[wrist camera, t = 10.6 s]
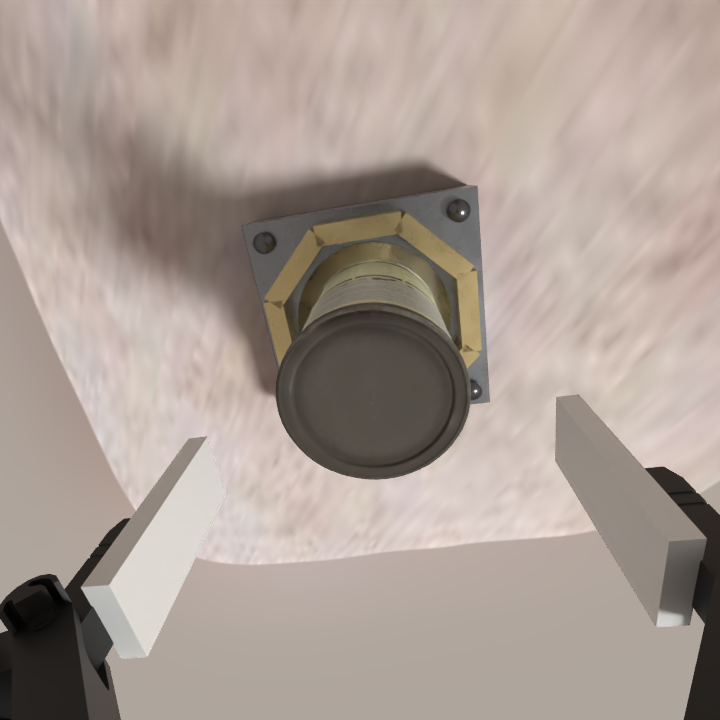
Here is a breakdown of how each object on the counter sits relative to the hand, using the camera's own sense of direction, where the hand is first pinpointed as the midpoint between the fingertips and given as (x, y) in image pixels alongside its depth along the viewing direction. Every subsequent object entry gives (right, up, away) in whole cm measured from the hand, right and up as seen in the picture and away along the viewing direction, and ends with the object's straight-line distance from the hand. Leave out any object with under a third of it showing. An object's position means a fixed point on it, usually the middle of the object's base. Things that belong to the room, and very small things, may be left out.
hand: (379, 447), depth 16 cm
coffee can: (+1, +7, +20) cm, 21 cm away
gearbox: (+1, +8, +23) cm, 25 cm away
